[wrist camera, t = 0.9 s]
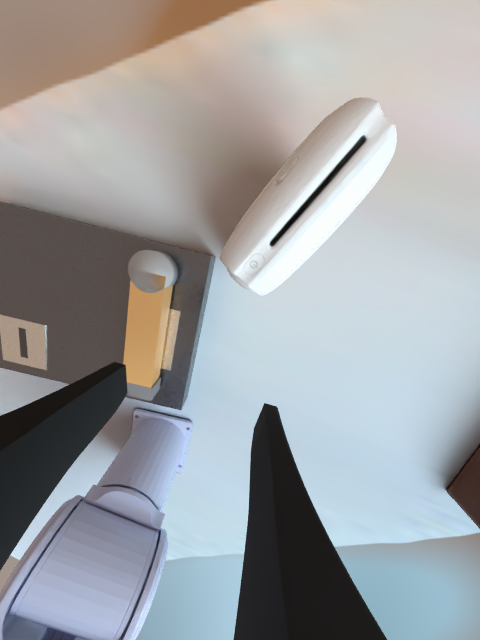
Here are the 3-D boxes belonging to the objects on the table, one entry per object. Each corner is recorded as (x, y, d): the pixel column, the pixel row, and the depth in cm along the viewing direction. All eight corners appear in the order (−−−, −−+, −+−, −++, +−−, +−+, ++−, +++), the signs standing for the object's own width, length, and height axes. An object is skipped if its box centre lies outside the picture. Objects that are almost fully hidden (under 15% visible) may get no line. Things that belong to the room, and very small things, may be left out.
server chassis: (187, 396, 26) (180, 410, 24) (19, 356, 26) (-5, 367, 23) (215, 256, 21) (211, 256, 19) (7, 203, 21) (-26, 195, 18)
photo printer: (256, 287, 22) (264, 317, 10) (226, 260, 21) (198, 258, 9) (328, 208, 19) (452, 125, 8) (297, 175, 19) (380, 26, 7)
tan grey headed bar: (142, 246, 18) (130, 245, 16) (180, 256, 18) (172, 255, 17) (128, 382, 23) (117, 393, 21) (160, 389, 23) (151, 401, 21)
